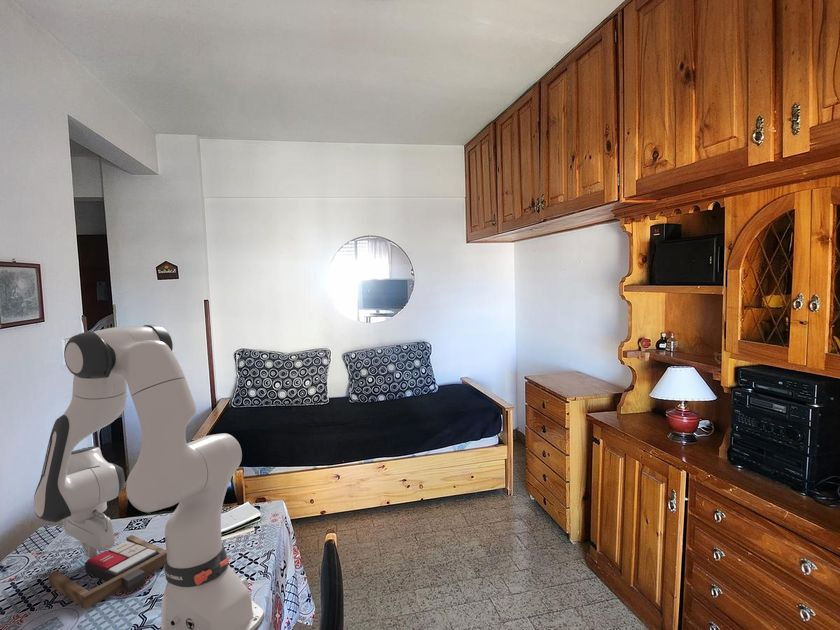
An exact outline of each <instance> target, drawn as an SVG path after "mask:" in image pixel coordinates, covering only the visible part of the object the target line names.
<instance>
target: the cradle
mask: <svg viewBox="0 0 840 630" xmlns="http://www.w3.org/2000/svg"><path fill="white" fill-rule="evenodd" d="M125 541H128V542H131V543H134V544H136V545H141V546H144V547H146V548H148V549H151V550H155V551H158V555H156V556H154V557H152V558H150V559H149V560H147V561H145V562H143V563H141V564H139V565H137V566H135V567H133V568H131V569H130V570H128V571H126V572H124V573H122V574H120V575H118V576H116V577H114V578H113V579H111V580H109V581H107V582H105V581H104V582H103V583H101V584H100V585H98V586H96V587H94V588H92V589H90V590H88V589H86V588H84V587H83V586H81V585H79V584H78V583H76V582H75V581H73V580H71V579H69V578H68V577H66V576H65V575H63V574H62V573H60V572H59V571H56V570H53V571H52V572H50V573H48V583H49V587H52V588H53V590H55V591H57V592H58V593H60V594H62V595H63V596H65V597H66V598H68V599H69V600H71V601H72V602H74V603H76V604H77V605H78V606H80V607H81V608H83V609H84V610H87V609H89V608H91V607H93V606H95V605H96V604H98V603H100V602H101V601H104V600H106V599H107V598H109V597H110V596H112V595H114V594H116V593H118V592H120V591H122V590H124V591H126V593H131V592H133V591H135V590H136V589H139V588H140V587H141V586H143V585H145V584H146V577H147V576H148V575H150V574H152V573H154V572H155V571H157V570H159V569H161V568H162V567H165V561H166V558H167V554H166V549H164V548H162V547H159V546H157V545H155V544H153V543H150V542H148V541H146V540H143V539H141V538H139V537H137V536H136V535H135V536H134V535H133V534H131V535H128V536H126V537H125Z"/></svg>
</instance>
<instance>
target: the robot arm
mask: <svg viewBox="0 0 840 630" xmlns="http://www.w3.org/2000/svg"><path fill="white" fill-rule="evenodd" d="M173 348H174V344H173V340H172V336H171V335H170V333H169V332H168V331H167V330H166V329H165V328H164V327H162V326H159V325H153V324H145V325H142V326H140V325H138V326H137V325H136V326H123V327H122V326H115V327H110V328H109V327H108V328H103V329H100V330H99V329H98V330H95V331H89V330H88V331H85V332H81V333H77V334H75V335H73V336H71V337H70V338H69V339H68V341H67V343H66V344H65V347H64V355H63V357H64V361H65V362H64V363H65V365H66V367H67V369H68V371H69V373H71V374H72V375H73V378H72V379H73V381H72V396H71V400H70V403H69V405H68V407H67V408H66V410H65V411H64V413H62V415H60V416H59V417H58V418H57V419H55V421H54V424H53V426H52V429H51V432H50V436H49V439H48V445H47V448H46V452H45V457H44V461H43V465H42V470H41V475H40V478H39V482H38V484H37V486H36V489H35V492H34V495H33V503H32V504H33V510H34V513H35V515H36V518H39V519H40V520H43V521H47V522H49V523H50V522H51V523H58V522H60V521H62V527H63V530H64V532H65V534H66V535H69V536H70V537H72V538H74V539H76V540H78V541H79V542H80V544H81V547H82V549H83V555H84V556H86V557H87V558H89V559H90V558H92V557H94V556H96V555H98V551H99V552H102V551H103V552H104V551H106V550H107V549H110V548H112V547H114V545H115V542H116V539H115V530H114V525H113V522H112V520H111V518H110V517H109V516H107V515H106V514H105V513H104V512H105V511H106V510H107V509H108V505H107V502H109V501H112V500H114V499H116V498H118V497H119V496H120V495H121V493H122V492H123V490H124V488H126V489H125V491H126V496H127V499H128V501H129V502H130V504H131V505H132V506H133V507H134V508H135V509H137V510H138V511H141V512H144V513H151V512H156V511H157V512H158V511H160V510H163V509H166V508H170V507H173V506H175V505H177V504H178V505H177V506H176V508H175V509H174V511H173V512H172V514H171V515H170V516H169V518H168V520H167V522H166V524H165V526H164V527H165V528H164V536H165V538H164V539H165V540H164V541H165V550H166V554H167V558H166V561H165V566H164V574H165V580H166V581H167V582H166V584H165V585H166V586H165V589H164V593H163V595H162V598H161V612H160V613H161V618H160V620H161V621H160V622H161V623H160V624H161V625H160V629H159V630H256V628H258V627H259V625H260V624H261V622H262V621H263V619H264V617H265V611H264V609H263V608H262V607H260V605H258V604H257V603H256V602H255V601H254V600H253V599H252V597H251V593H250V590H249V588H248V587H249V581H248V578H247V577H241V578H240V577H239V576H238V574H237V573H236V571H235V568H233V567H231V565H229V563H230V562H231V560H230V559H231V557H230V556H227V551H226V549H225V547H224V544H223V540H222V539H223V538H222V511H223V510H222V509H223V504H224V500H225V496H226V493H227V491H228V487H229V485H230V483H231V480H232V478H233V476H234V474H235V472H236V471H237V469H238V468H239V467H240V464H241V462H242V458H243V452H242V448H241V445H240V443H239V441H238V440H237V438H235V437H234V436H233V435H231V434H229V433H226V432H225V433H216V434H215V433H214V434H210V435H205V436H202V437H200V438H197V439H195V440H193V441H190V442H187V438H186V436H187V435H186V432H187V426H188V424H189V423H191V421H192V419H194V417H195V414H196V412H197V406H196V402H195V400H194V398H193V394H192V392H191V389H190V386H189V384H188V381H187V379H186V377H185V373H184V371H183V369H182V367H181V365H180V363H179V361H178V360H177V357H176V356H175V354H174V352H173ZM128 391H129V393H130V394H129V395H130V396H131V400H132V402H133V404H134V408H135V411H136V413H137V418H138V421H139V424H140V427H141V428H140V429H141V430H140V431H141V448H140V452H139V456H138V458H137V460H136V463H135V465H134V466H133V468H132V469H131V471H130V472H129V473H128V476H127V479H125V478H126V477H125V472H124V469H123V467H122V466H119V465H117V464H116V463H112V462H108V461H107V460H106V459H105V458H104V456H103V454H102V450H101V449H100V447H99V446H88V447H83V448H79V449H76V450H74V449H75V448H76V446H77V445H78V444H79V443H80V442H82V441H83V440H85V439H86V438H88V437H90V435H92V434H94V433H95V432H97V431H99V430H101V429H103V428H105V427H107V426H109V425H110V424H112V423H113V422H115V420H117V419H118V418H119V417H120V416H121V415H122V413H123V412H124V410H125V408H126V404H127V397H128V394H127V393H128ZM125 480H126V481H125Z"/></svg>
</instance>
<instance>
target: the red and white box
mask: <svg viewBox="0 0 840 630" xmlns="http://www.w3.org/2000/svg"><path fill="white" fill-rule="evenodd" d="M156 555H158V551H155V550H151V549H148V548H146V547H144V546H141V545H136V544H134V543H131V542H128V541H126V540H125V541H123V542H120V543H119V544H117V545H115V546H112V547H110V548H108V550H104V551H103V552H102V551H101V552H100V553H99V554H98V553H97V555H96V556H94V557H92V558H89V559H86V561H85V562H84V569H85V570H84V571H85V573H86V574H88V575H90V576H92V577H94V578H95V579H98V580H100V581H103V582H104V583H105V582H107V581H109V580H111V579H113V578H114V577H116V576H118V575H120V574H122V573H124V572H126V571H128V570H130V569H131V568H133V567H135V566H137V565H139V564H141V563H143V562H145V561H147V560H149V559H150V558H152V557H154V556H156Z"/></svg>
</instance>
